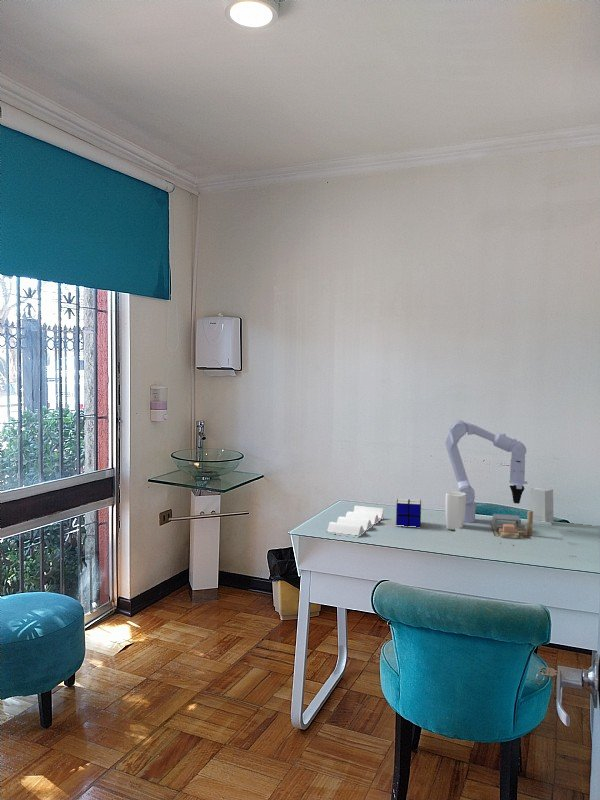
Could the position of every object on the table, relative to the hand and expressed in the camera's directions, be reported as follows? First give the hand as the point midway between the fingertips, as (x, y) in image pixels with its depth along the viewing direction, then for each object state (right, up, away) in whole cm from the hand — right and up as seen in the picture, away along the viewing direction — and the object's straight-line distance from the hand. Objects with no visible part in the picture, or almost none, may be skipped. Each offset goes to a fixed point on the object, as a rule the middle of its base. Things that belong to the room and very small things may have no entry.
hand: (516, 503), depth 261 cm
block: (-9, -10, -18) cm, 22 cm away
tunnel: (-7, -9, -9) cm, 15 cm away
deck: (-6, -11, -10) cm, 16 cm away
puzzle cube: (-45, -10, +3) cm, 46 cm away
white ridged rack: (-67, -10, -1) cm, 68 cm away
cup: (-27, -10, -4) cm, 29 cm away
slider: (-6, -9, -19) cm, 22 cm away
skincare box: (+14, -10, +11) cm, 21 cm away
